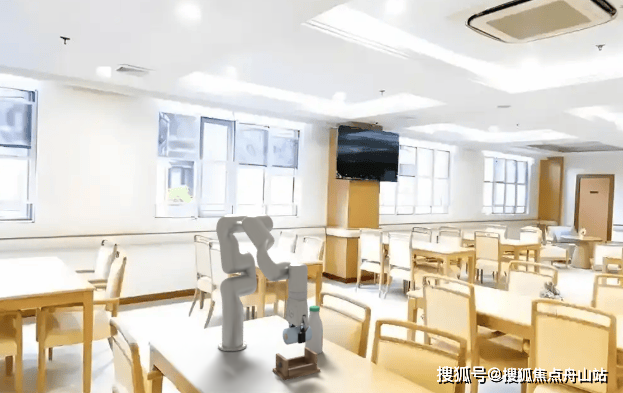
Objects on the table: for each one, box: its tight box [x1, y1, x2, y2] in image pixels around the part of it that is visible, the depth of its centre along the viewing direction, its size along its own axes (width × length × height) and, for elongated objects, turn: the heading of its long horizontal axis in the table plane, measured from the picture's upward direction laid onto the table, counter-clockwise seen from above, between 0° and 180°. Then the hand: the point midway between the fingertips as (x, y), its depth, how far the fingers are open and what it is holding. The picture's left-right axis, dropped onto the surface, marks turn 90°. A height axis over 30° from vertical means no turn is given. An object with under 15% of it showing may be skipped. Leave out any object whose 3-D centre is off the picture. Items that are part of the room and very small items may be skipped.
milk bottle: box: [304, 305, 324, 355], centre depth 193 cm, size 8×8×20 cm
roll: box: [282, 326, 312, 346], centre depth 171 cm, size 10×6×6 cm, turn 122°
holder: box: [272, 346, 321, 381], centre depth 172 cm, size 10×16×7 cm, turn 122°
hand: (297, 339), depth 171 cm, fingers closed on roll, 6 cm apart
